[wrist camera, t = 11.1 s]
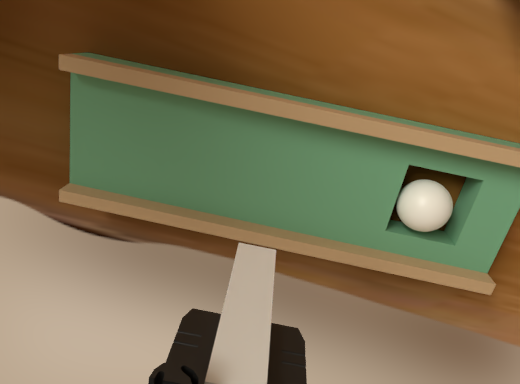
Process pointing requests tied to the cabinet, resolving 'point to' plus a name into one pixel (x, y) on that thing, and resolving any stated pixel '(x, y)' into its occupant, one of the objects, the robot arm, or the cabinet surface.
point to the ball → (424, 205)
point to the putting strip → (281, 170)
